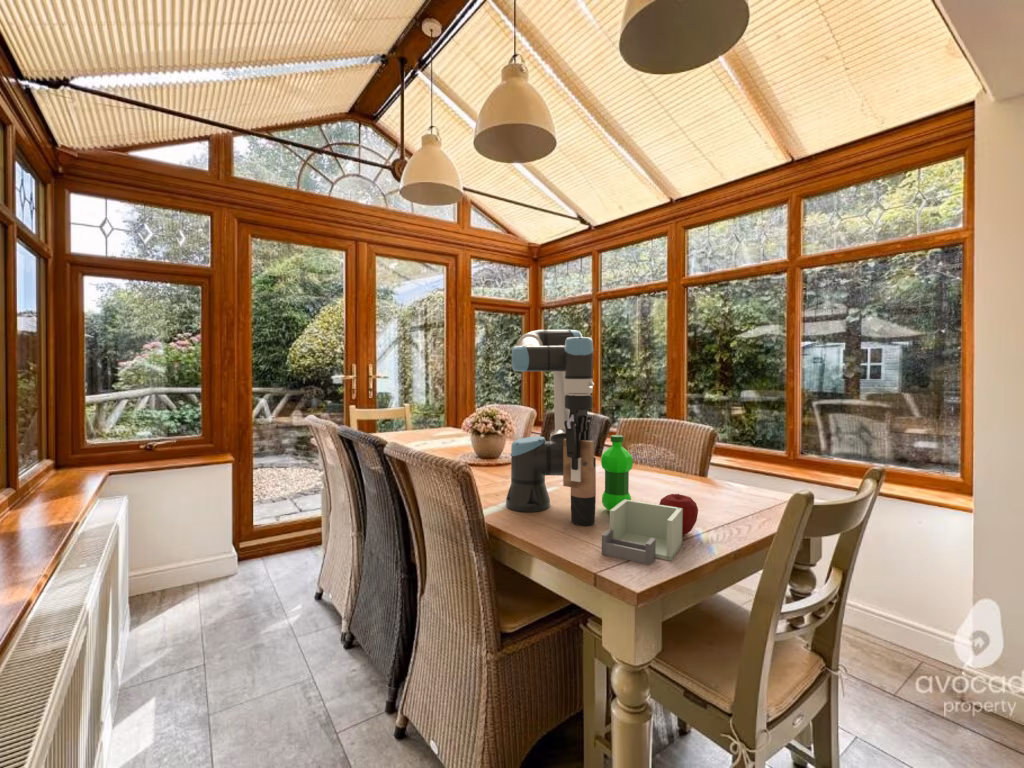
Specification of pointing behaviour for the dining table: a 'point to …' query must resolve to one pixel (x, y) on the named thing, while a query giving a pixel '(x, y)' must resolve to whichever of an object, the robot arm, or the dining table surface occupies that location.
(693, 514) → the apple
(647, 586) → the dining table surface
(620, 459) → the plastic bottle
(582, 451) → the door panel
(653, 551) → the cabinet
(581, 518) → the travel mug
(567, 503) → the dining table surface
